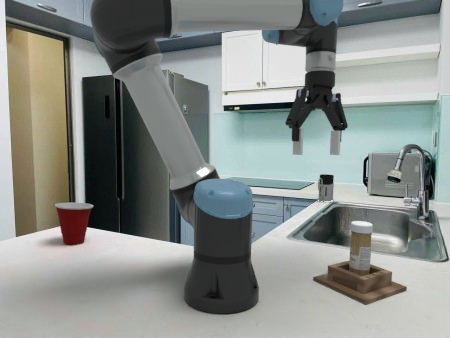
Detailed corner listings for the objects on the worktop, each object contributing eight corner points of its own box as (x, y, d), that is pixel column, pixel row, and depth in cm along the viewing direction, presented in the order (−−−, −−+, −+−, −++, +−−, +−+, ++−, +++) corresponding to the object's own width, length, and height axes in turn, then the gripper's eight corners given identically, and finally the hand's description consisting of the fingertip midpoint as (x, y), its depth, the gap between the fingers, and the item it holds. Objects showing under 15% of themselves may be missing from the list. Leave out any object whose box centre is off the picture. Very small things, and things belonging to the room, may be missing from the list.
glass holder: (336, 201, 196) (337, 175, 194) (325, 204, 185) (326, 176, 184) (321, 199, 201) (322, 174, 200) (310, 202, 191) (311, 175, 190)
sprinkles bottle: (344, 277, 80) (347, 220, 79) (363, 277, 80) (366, 220, 79) (353, 285, 75) (356, 225, 74) (373, 285, 76) (377, 225, 75)
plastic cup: (97, 244, 105) (97, 205, 104) (58, 249, 99) (58, 208, 98) (89, 236, 114) (88, 199, 113) (52, 240, 108) (52, 202, 107)
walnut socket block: (365, 304, 68) (366, 284, 68) (313, 280, 80) (313, 263, 80) (406, 290, 76) (407, 272, 75) (353, 269, 88) (353, 254, 87)
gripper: (293, 62, 79) (290, 155, 81) (363, 75, 92) (360, 155, 94) (272, 68, 86) (270, 154, 87) (341, 79, 99) (337, 154, 100)
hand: (316, 154), depth 91 cm, fingers open, 13 cm apart
